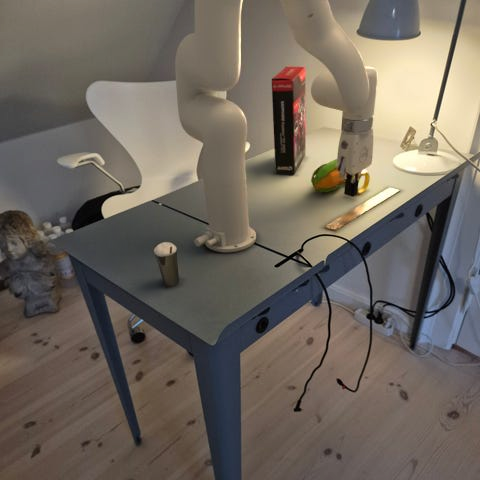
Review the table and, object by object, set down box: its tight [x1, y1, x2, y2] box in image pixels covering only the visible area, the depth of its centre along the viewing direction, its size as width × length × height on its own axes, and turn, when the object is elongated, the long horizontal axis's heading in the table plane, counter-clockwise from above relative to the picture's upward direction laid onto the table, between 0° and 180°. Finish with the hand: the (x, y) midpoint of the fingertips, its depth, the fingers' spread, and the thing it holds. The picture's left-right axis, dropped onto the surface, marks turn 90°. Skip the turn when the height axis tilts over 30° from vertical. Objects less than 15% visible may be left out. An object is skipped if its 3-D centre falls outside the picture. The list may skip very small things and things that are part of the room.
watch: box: [357, 169, 371, 195], centre depth 124 cm, size 6×3×6 cm, turn 134°
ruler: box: [324, 187, 401, 232], centre depth 118 cm, size 30×3×1 cm, turn 135°
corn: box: [310, 158, 345, 194], centre depth 129 cm, size 7×8×20 cm
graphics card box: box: [271, 66, 306, 175], centre depth 138 cm, size 17×7×27 cm, turn 162°
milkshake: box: [153, 241, 180, 288], centre depth 93 cm, size 4×5×10 cm
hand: (350, 194), depth 123 cm, fingers closed
